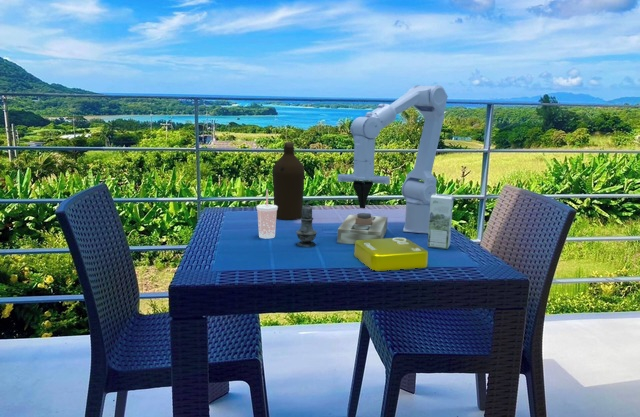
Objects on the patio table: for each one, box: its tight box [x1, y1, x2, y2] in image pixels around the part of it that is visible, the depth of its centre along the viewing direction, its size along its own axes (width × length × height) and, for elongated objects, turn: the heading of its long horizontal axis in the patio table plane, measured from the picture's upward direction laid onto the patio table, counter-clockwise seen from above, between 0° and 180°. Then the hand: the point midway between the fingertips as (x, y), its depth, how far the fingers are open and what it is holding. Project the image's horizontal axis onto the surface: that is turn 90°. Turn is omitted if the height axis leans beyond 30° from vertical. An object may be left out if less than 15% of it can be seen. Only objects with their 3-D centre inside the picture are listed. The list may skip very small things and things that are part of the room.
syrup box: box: [427, 193, 454, 250], centre depth 157 cm, size 6×6×14 cm
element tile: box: [353, 237, 429, 272], centre depth 143 cm, size 15×15×5 cm
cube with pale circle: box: [353, 225, 369, 230], centre depth 161 cm, size 4×4×4 cm
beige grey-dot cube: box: [355, 212, 373, 225], centre depth 166 cm, size 4×4×4 cm
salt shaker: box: [295, 202, 318, 248], centre depth 155 cm, size 6×6×12 cm
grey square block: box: [336, 214, 388, 245], centre depth 167 cm, size 12×20×4 cm, turn 168°
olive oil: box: [272, 141, 306, 221], centre depth 188 cm, size 11×11×25 cm
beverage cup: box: [256, 188, 278, 240], centre depth 163 cm, size 6×6×14 cm
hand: (362, 207), depth 161 cm, fingers closed
